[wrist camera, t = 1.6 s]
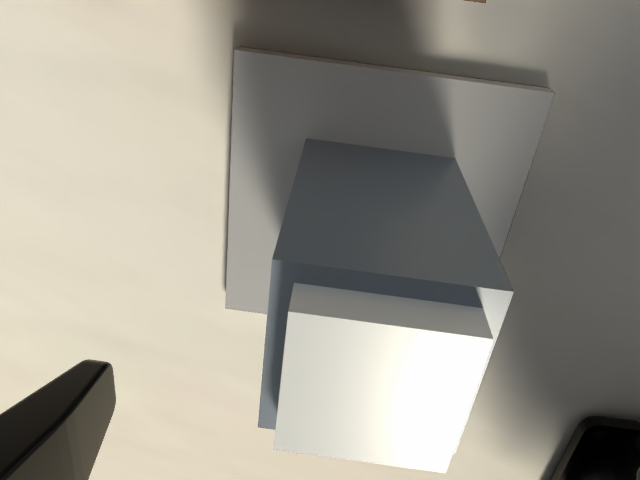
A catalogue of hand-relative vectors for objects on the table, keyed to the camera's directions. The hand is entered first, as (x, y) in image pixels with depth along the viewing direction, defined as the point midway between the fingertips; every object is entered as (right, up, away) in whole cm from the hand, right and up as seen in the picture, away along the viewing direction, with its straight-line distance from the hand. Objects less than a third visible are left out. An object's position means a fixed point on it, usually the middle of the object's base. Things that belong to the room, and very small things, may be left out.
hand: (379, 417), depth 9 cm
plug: (0, +4, +6) cm, 7 cm away
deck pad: (0, +4, +7) cm, 8 cm away
